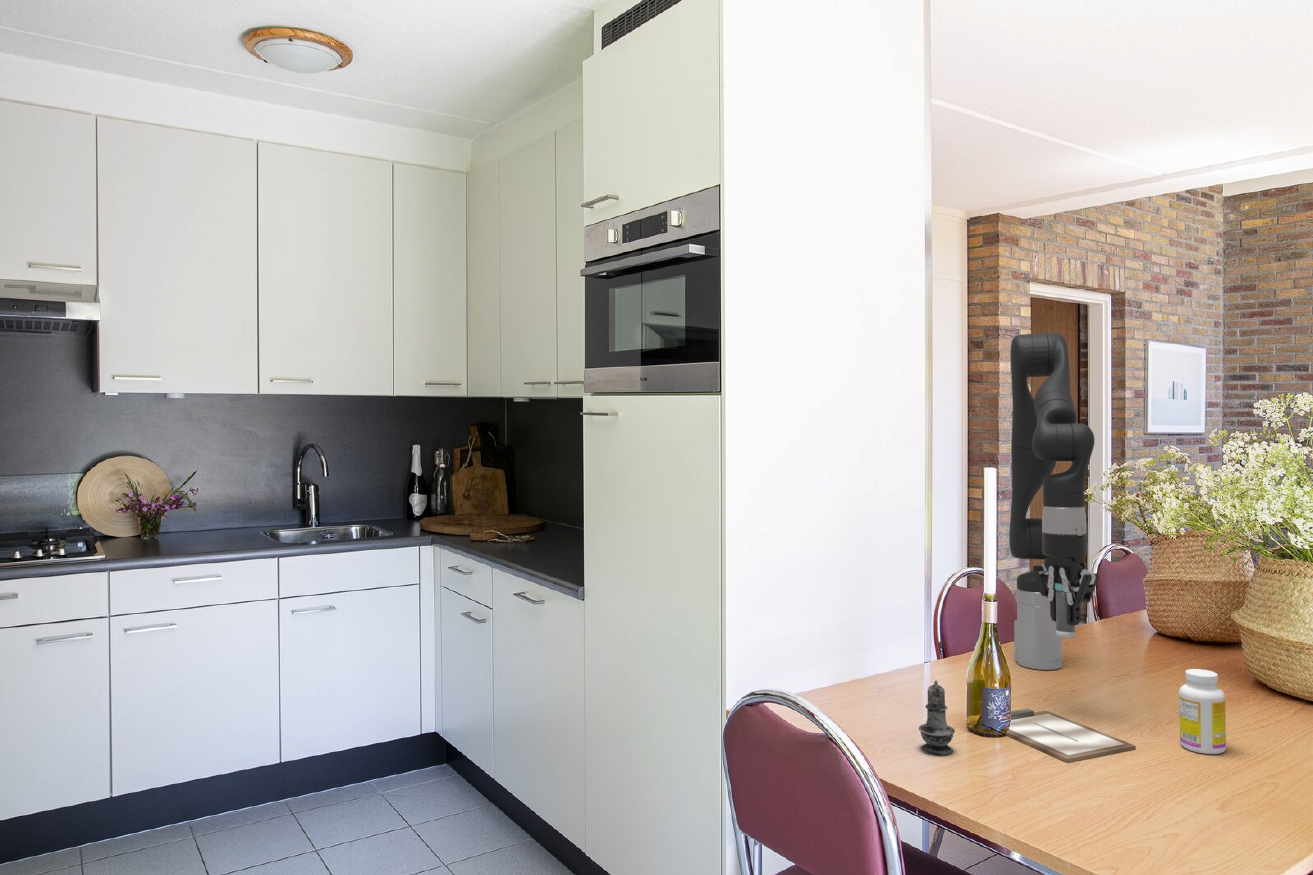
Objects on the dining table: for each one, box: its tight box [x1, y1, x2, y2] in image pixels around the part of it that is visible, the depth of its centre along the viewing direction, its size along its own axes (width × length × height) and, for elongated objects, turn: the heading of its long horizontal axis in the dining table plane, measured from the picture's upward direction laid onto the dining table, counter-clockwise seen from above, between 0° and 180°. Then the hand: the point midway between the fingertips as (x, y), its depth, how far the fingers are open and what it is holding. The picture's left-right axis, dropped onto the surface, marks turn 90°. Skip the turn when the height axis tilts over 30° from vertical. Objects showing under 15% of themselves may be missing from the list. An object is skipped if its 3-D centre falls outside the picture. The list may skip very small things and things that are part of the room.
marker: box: [1055, 583, 1076, 640], centre depth 166 cm, size 3×3×10 cm
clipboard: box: [1006, 708, 1137, 764], centre depth 157 cm, size 20×15×2 cm
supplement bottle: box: [1178, 668, 1227, 755], centre depth 150 cm, size 7×7×13 cm
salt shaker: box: [918, 679, 956, 757], centre depth 152 cm, size 6×6×12 cm
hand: (1065, 622), depth 166 cm, fingers closed on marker, 3 cm apart
